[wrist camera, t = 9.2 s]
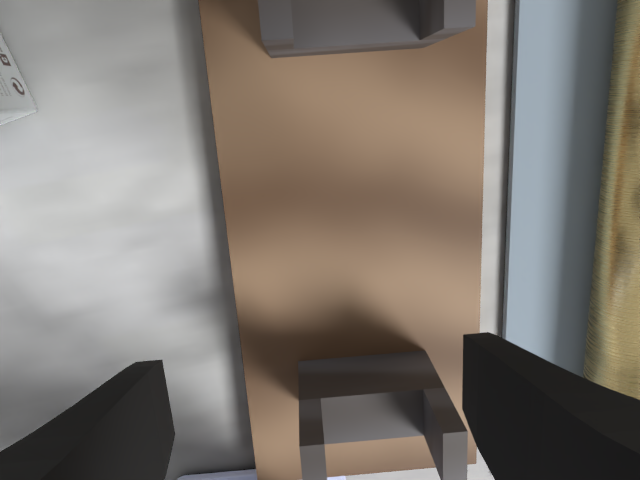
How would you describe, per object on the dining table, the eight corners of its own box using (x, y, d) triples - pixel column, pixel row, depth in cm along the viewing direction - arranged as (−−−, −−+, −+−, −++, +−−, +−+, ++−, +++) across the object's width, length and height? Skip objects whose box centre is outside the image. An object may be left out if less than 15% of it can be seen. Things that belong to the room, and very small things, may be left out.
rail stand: (467, 445, 24) (529, 569, 17) (259, 464, 23) (246, 597, 17) (478, -137, 17) (583, -274, 11) (189, -121, 17) (126, -252, 11)
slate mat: (674, 460, 25) (680, 466, 24) (496, 477, 24) (500, 483, 24) (782, -223, 17) (793, -230, 16) (523, -209, 17) (528, -217, 16)
